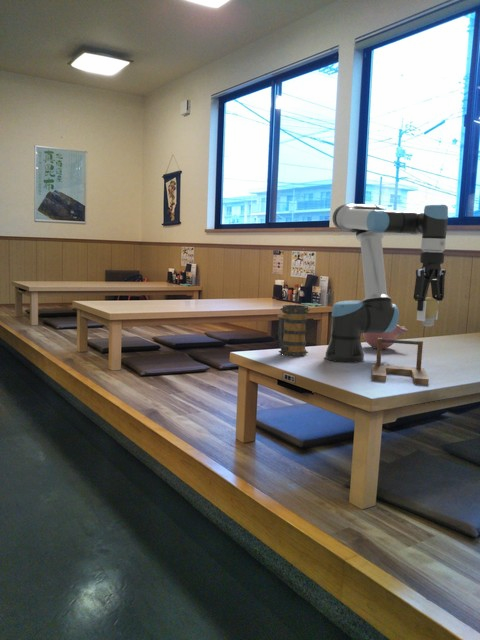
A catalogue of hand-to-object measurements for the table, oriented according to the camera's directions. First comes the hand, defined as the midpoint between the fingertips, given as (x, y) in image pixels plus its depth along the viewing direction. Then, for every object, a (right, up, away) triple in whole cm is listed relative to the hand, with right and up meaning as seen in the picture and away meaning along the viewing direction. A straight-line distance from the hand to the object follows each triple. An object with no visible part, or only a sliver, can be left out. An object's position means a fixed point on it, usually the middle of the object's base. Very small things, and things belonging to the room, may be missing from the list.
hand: (427, 319), depth 184 cm
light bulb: (+1, -2, +1) cm, 3 cm away
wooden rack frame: (-8, -20, +5) cm, 22 cm away
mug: (-43, -15, +39) cm, 60 cm away
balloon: (+1, -13, +59) cm, 60 cm away
